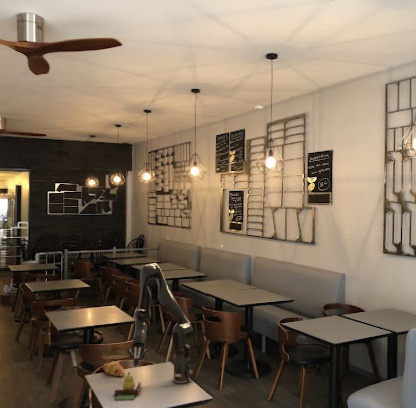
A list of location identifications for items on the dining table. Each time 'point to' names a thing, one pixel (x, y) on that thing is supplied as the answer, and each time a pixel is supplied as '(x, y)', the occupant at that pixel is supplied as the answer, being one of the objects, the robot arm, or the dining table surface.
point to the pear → (128, 382)
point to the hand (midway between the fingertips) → (135, 365)
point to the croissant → (114, 368)
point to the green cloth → (125, 397)
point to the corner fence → (128, 391)
